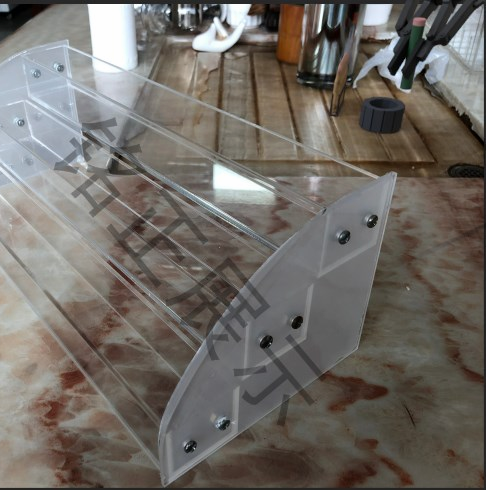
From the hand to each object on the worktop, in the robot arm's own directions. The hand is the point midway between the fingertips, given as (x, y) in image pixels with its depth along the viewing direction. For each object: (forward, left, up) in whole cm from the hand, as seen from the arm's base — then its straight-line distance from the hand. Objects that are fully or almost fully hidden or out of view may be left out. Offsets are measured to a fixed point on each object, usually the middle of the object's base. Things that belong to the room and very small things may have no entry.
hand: (397, 73), depth 103 cm
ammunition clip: (+27, -16, -18) cm, 37 cm away
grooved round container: (+14, -16, -18) cm, 28 cm away
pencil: (+1, -4, -4) cm, 5 cm away
